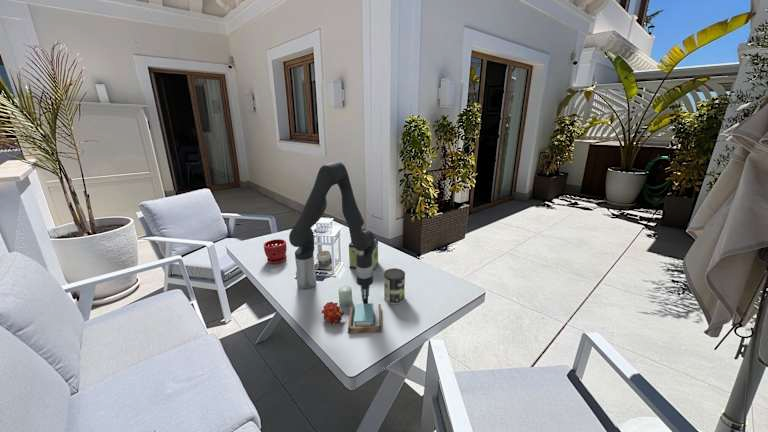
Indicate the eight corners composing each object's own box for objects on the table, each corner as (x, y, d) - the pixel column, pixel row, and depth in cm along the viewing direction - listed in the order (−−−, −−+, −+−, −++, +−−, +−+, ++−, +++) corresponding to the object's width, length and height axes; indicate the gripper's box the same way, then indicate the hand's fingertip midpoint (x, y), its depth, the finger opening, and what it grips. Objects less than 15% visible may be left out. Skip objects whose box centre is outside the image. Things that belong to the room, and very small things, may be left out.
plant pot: (292, 258, 189) (290, 241, 185) (275, 267, 179) (272, 249, 175) (278, 253, 196) (276, 236, 192) (261, 261, 185) (258, 244, 181)
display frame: (348, 333, 126) (347, 328, 125) (351, 309, 141) (350, 304, 140) (381, 332, 126) (381, 327, 125) (380, 308, 141) (380, 304, 140)
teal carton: (354, 330, 128) (354, 321, 126) (356, 311, 139) (355, 303, 138) (373, 329, 128) (373, 320, 127) (373, 311, 139) (373, 303, 138)
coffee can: (408, 296, 150) (408, 271, 146) (398, 307, 142) (398, 281, 137) (390, 290, 155) (390, 266, 151) (380, 300, 147) (379, 275, 142)
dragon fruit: (326, 314, 140) (341, 330, 132) (313, 312, 133) (328, 329, 125) (336, 298, 140) (351, 313, 132) (323, 296, 133) (338, 312, 126)
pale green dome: (338, 305, 143) (337, 293, 141) (339, 298, 149) (339, 286, 147) (351, 305, 143) (351, 293, 141) (352, 297, 149) (352, 285, 147)
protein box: (374, 270, 174) (374, 246, 169) (349, 268, 177) (348, 244, 172) (378, 262, 184) (378, 239, 178) (354, 260, 187) (353, 237, 181)
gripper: (357, 266, 141) (358, 297, 147) (355, 281, 129) (356, 314, 135) (373, 265, 141) (373, 297, 147) (372, 281, 129) (373, 314, 135)
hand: (365, 305), depth 141 cm, fingers closed
